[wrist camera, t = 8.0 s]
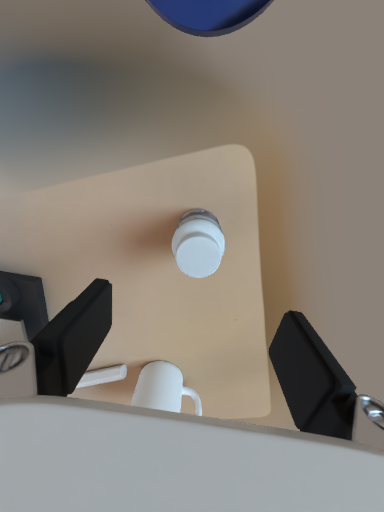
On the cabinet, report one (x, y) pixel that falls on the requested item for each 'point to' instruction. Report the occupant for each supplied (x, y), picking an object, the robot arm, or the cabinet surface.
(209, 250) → the pill bottle
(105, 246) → the cabinet surface
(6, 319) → the pan
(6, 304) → the scale
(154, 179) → the cabinet surface
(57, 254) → the cabinet surface
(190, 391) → the cup
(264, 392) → the cabinet surface
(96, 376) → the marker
